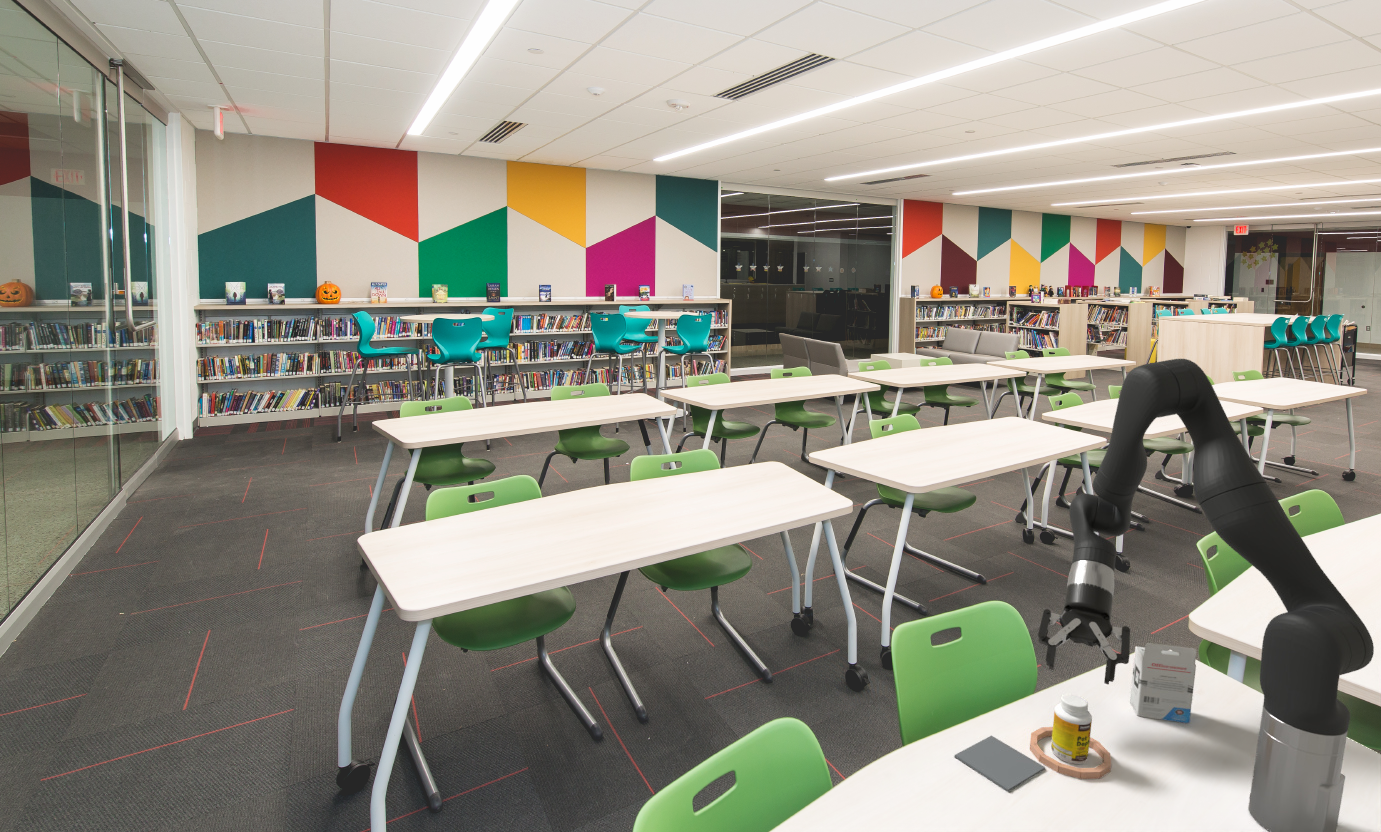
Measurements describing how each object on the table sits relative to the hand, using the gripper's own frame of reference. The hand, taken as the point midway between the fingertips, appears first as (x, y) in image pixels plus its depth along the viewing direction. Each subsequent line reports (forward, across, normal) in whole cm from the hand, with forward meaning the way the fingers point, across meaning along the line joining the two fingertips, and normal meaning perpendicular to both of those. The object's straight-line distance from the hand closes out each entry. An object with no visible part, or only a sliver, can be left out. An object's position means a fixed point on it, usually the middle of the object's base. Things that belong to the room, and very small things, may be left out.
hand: (1078, 675), depth 122 cm
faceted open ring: (+13, 0, +3) cm, 13 cm away
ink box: (-3, +13, +20) cm, 24 cm away
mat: (+19, -10, -3) cm, 21 cm away
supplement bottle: (+13, 0, +3) cm, 13 cm away
